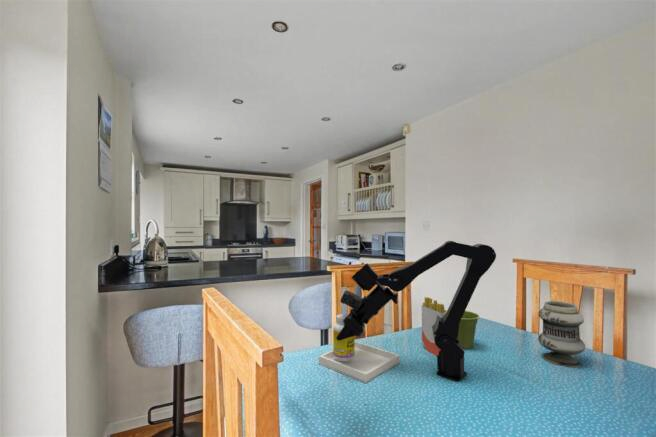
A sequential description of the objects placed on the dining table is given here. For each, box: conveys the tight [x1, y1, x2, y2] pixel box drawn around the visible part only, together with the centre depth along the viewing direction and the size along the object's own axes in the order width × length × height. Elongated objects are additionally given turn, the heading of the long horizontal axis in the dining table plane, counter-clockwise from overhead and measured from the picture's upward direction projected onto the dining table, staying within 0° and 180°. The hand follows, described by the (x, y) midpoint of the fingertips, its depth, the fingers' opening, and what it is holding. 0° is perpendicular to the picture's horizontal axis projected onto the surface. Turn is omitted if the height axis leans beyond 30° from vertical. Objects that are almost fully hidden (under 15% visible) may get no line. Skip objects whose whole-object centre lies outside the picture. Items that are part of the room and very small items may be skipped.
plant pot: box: [446, 310, 480, 350], centre depth 113 cm, size 12×12×11 cm
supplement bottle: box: [332, 313, 356, 361], centre depth 98 cm, size 7×7×13 cm
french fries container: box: [421, 296, 447, 357], centre depth 107 cm, size 5×11×18 cm, turn 17°
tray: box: [318, 340, 401, 384], centre depth 98 cm, size 18×18×2 cm
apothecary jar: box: [537, 300, 586, 368], centre depth 101 cm, size 12×12×18 cm
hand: (339, 335), depth 99 cm, fingers closed on supplement bottle, 6 cm apart
